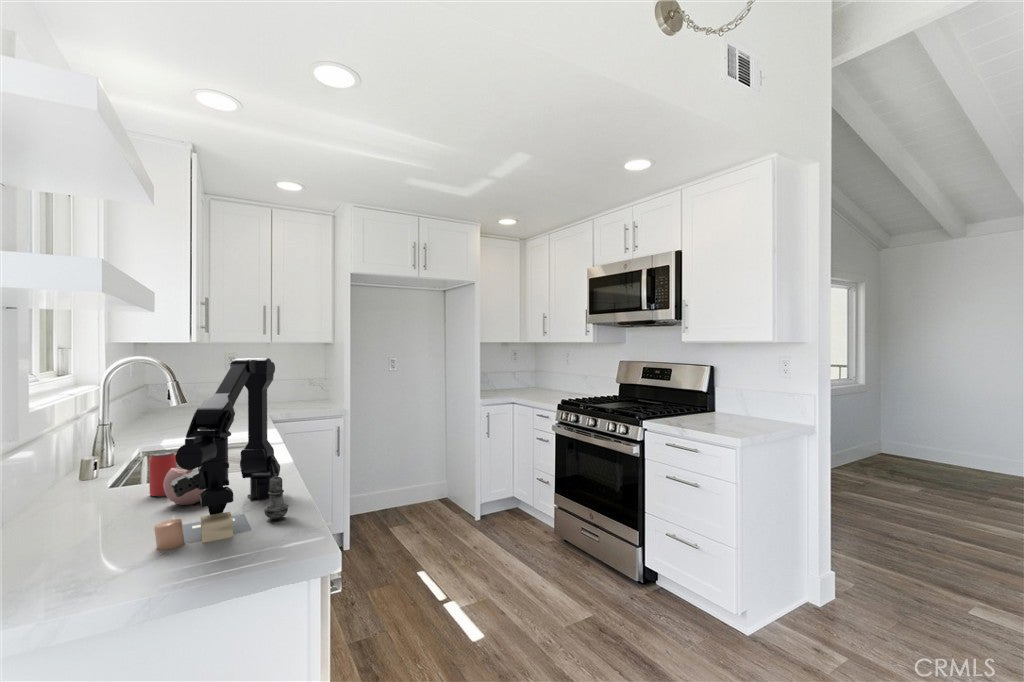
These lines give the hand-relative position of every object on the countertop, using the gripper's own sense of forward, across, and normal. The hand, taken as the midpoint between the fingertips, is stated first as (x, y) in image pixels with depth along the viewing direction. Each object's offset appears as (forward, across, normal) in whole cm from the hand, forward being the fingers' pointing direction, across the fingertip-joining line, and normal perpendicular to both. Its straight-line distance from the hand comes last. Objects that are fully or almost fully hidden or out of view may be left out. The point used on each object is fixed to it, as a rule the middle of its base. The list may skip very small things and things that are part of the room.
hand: (214, 524), depth 121 cm
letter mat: (+2, -1, 0) cm, 2 cm away
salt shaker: (+2, +2, +13) cm, 13 cm away
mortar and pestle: (+2, -27, -4) cm, 27 cm away
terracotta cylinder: (+1, +5, -9) cm, 10 cm away
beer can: (+2, -42, -10) cm, 43 cm away
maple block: (+1, +5, 0) cm, 5 cm away
